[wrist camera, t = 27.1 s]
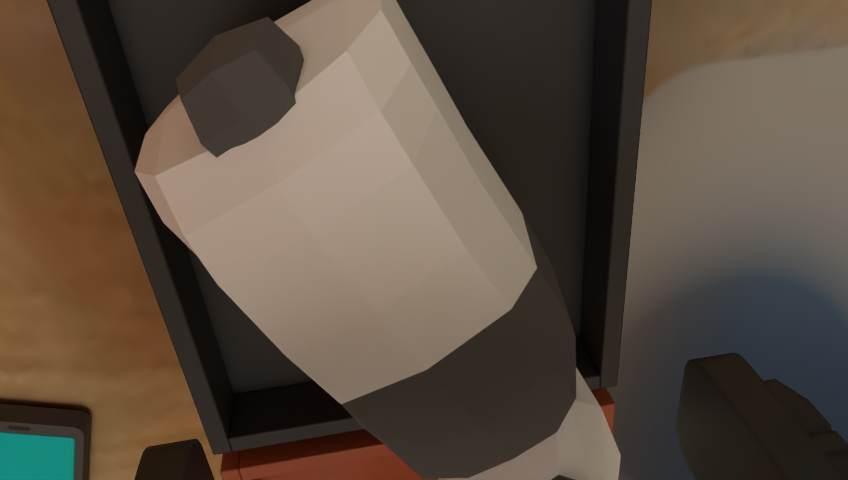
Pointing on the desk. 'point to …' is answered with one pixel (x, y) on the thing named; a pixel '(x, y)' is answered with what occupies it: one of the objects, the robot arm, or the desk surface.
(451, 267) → the giant panda
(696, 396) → the robot arm
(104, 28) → the charcoal tray
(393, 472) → the terracotta tray
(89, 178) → the desk surface
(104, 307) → the desk surface
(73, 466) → the smartphone
